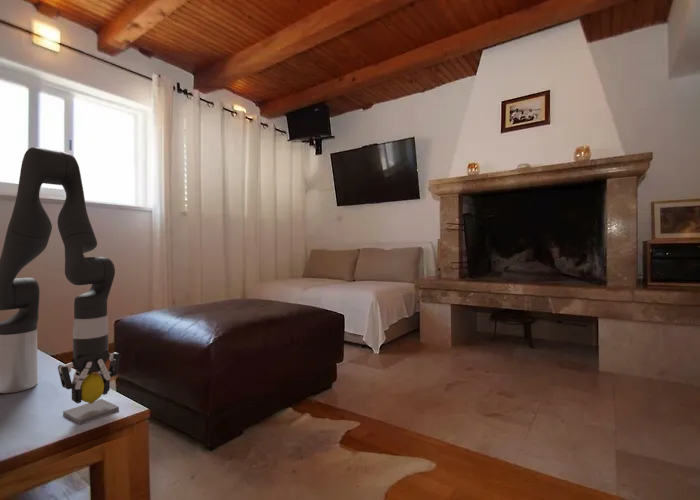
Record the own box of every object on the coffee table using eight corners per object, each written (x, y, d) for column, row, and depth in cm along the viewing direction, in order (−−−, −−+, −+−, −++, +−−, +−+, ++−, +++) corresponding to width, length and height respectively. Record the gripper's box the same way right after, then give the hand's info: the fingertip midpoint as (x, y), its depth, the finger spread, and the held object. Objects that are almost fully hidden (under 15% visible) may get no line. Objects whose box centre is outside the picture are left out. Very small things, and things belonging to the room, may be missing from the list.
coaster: (63, 415, 94) (63, 411, 94) (101, 402, 101) (101, 398, 101) (79, 424, 89) (79, 420, 89) (118, 410, 97) (118, 406, 97)
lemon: (100, 397, 99) (99, 368, 99) (107, 403, 96) (107, 373, 95) (75, 404, 95) (75, 373, 95) (81, 410, 91) (81, 379, 91)
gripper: (113, 326, 103) (113, 385, 103) (51, 337, 90) (51, 405, 91) (127, 330, 99) (127, 391, 99) (64, 342, 87) (65, 412, 87)
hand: (91, 397), depth 95 cm, fingers closed on lemon, 5 cm apart
